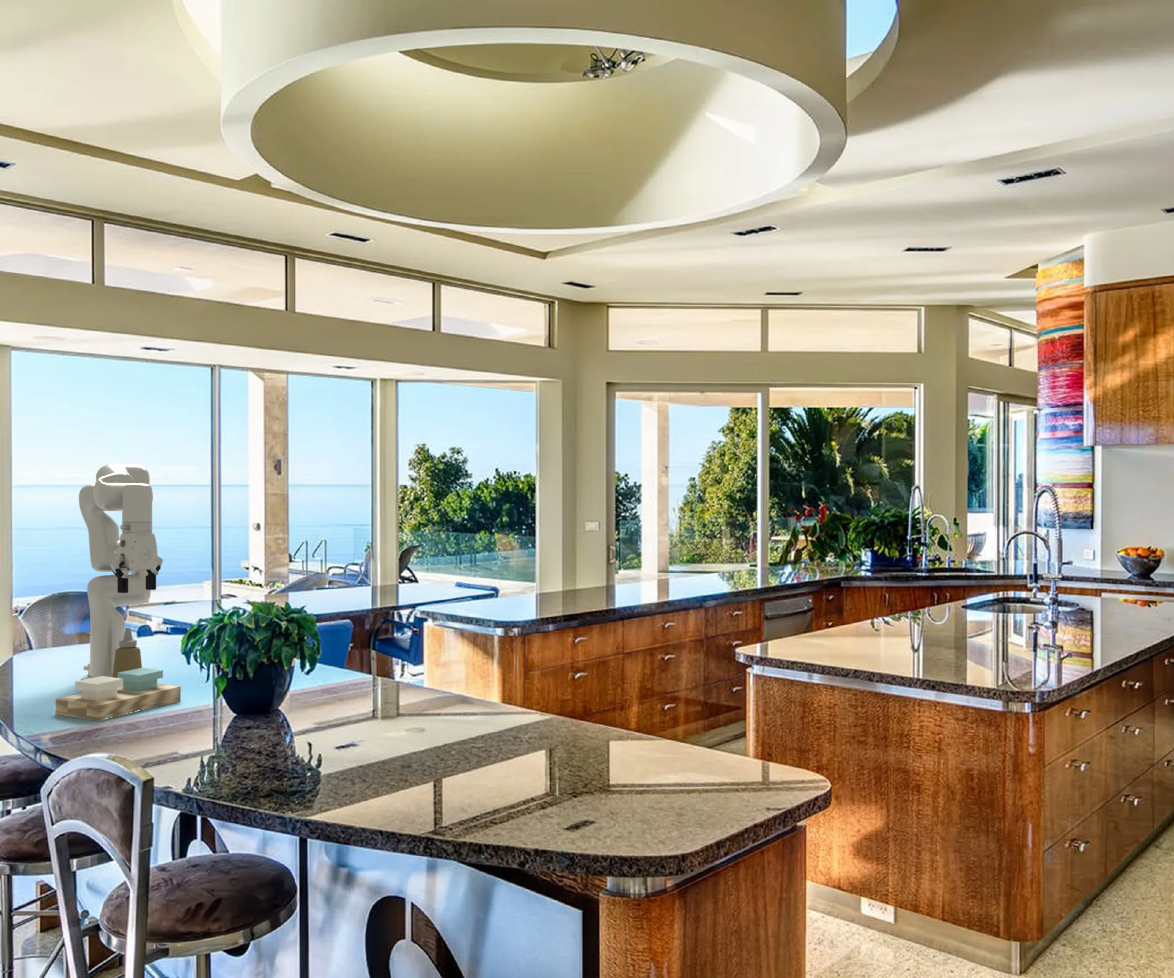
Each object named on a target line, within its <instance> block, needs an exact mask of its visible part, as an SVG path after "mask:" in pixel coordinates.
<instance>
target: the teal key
mask: <svg viewBox="0 0 1174 978" xmlns="http://www.w3.org/2000/svg"><path fill="white" fill-rule="evenodd" d="M118 678H121V679H123V690H131V691H138V692H140V691H144V690H148V689H153V688H157V683H158V679H163V678H164V671H163V669H162V670H161V669H155V668H149V667H148V668H145V667H142V668H138V669H134V670H129V671H124V672H119V673H118Z"/></svg>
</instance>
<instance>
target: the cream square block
mask: <svg viewBox="0 0 1174 978" xmlns="http://www.w3.org/2000/svg"><path fill="white" fill-rule="evenodd" d="M118 687H123V679H121V678H113V677H106V676H99V677H94V678H89V679H84V678H83V679H81V680H75V683H74V689H75V690H80V694H81V699H85V700H92V701H101V700H105V699H109V698H114V697H117V688H118Z"/></svg>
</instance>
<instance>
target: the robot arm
mask: <svg viewBox="0 0 1174 978" xmlns="http://www.w3.org/2000/svg"><path fill="white" fill-rule="evenodd" d="M150 482H151V481H150V474H149V471H148V470H147V468H146V467H145V466H144V465H141V464H126V463H125V464H123V463H122V464H121V463H116V464H115V463H113V464H112V463H111V464H105V465H104V466H101V467H100V468H99V469H98V470H97V472H96V474H95V482H94V483H91V484H86V485H84V486H82V487H81V489H80V490H79V493H78V506H79V510H80V513H81V516H82V518H83V521H84V523H85V524H86V528H87V532H88V543H89V559H90V564H91V568H93V571H95V572H99V573H113V574H104V575H99V576H95V577H92V579H90V580H89V581H88V584H87V588H86V593H87V598H88V599H87V600H88V606H89V617H90V618H89V622H90V623H89V624H90V625H89V626H90V627H89V632H90V633H89V663H88V664H87V665H84V666H83V670H84V671H87V673H88V674H86V675H84V677H83V680H84V679H89V678H94V677H99V676H106V677H112V676H113V667H114V659H115V650H117V649H118V648H120V647H119V641H121V640H123V638H124V634H125V630H126V620H125V618H124V616H123V615H122V614H121V613H120V611H118V610H117V609H116V608H118V607H126V606H139V605H144V604H146V603H148V602H149V600H150V598H151V591H156V590H157V576H159V572H160V570H161V567H162V564H163V562H164V559H163V558H162V557H160V556H158V547H157V546H158V545H157V540H156V536H155V533H153V500H154V494H153V488H152V486H151V485H150ZM106 512H121V522H122V523H121V525H120V527H119V525H118V524H117V522H116V521H115V520H114V519H113V518H112V517H111V516H110V515H109V514H107V513H106ZM119 528H120V529H119ZM120 530H121V534H120Z"/></svg>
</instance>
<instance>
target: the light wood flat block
mask: <svg viewBox="0 0 1174 978" xmlns="http://www.w3.org/2000/svg"><path fill="white" fill-rule="evenodd" d="M181 689H182V687H181V686H179V685H173V684H166V683H158V682H157V688H153V689H148V690H144V691H140V692H138V691H131V690H123V687H118V688H117V697H114V698H109V699H105V700H101V701H92V700H85V699H81V693H78V694H73V695H68V696H67V695H66V696H63V697H59V698H55V715H57V716H63V715H64V716H65V717H70V718H75V717H77V718H76V719H82V718H85V719H84V720H88V721H94V720H98V721H97V722H101V721H100V720H102V721H105V720H104V719H106V718H110V719H112V718H111V717H114V718H117V717H116V716H118V717H120V716H119V715H122V716H125V715H124V714H126V713H130V712H134V713H136V712H135V711H137V710H142V711H144V710H143V709H146V710H149V709H148V708H150V709H152V708H151V707H154V708H157V707H156V706H158V707H162V706H166V705H169V704H173V703H176V702H181V691H182V690H181ZM130 714H131V713H130ZM126 715H127V714H126ZM106 720H107V719H106Z"/></svg>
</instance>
